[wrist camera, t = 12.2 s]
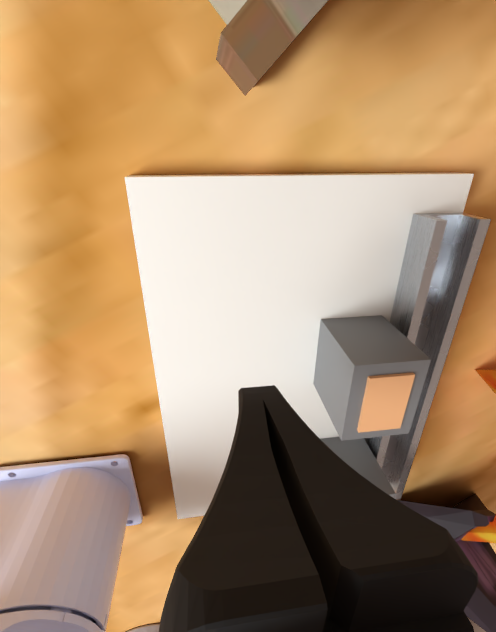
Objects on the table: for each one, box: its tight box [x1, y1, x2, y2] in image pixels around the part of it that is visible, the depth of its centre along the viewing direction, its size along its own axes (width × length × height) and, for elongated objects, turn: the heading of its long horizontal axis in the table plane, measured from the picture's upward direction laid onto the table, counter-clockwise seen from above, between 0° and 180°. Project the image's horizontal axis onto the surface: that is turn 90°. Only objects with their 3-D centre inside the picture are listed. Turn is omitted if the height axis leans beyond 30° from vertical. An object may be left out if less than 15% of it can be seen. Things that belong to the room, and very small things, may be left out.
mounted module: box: [321, 437, 396, 498], centre depth 24 cm, size 4×5×5 cm
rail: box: [364, 213, 491, 499], centre depth 22 cm, size 3×22×2 cm, turn 0°
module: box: [313, 315, 431, 441], centre depth 19 cm, size 4×5×5 cm
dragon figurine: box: [397, 370, 496, 632], centre depth 26 cm, size 10×12×25 cm
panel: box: [125, 173, 474, 519], centre depth 23 cm, size 18×26×1 cm
